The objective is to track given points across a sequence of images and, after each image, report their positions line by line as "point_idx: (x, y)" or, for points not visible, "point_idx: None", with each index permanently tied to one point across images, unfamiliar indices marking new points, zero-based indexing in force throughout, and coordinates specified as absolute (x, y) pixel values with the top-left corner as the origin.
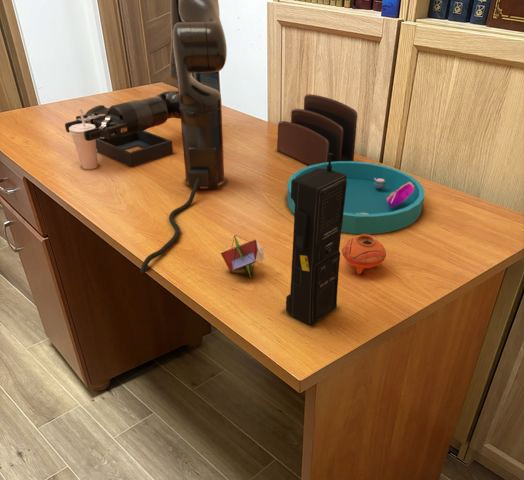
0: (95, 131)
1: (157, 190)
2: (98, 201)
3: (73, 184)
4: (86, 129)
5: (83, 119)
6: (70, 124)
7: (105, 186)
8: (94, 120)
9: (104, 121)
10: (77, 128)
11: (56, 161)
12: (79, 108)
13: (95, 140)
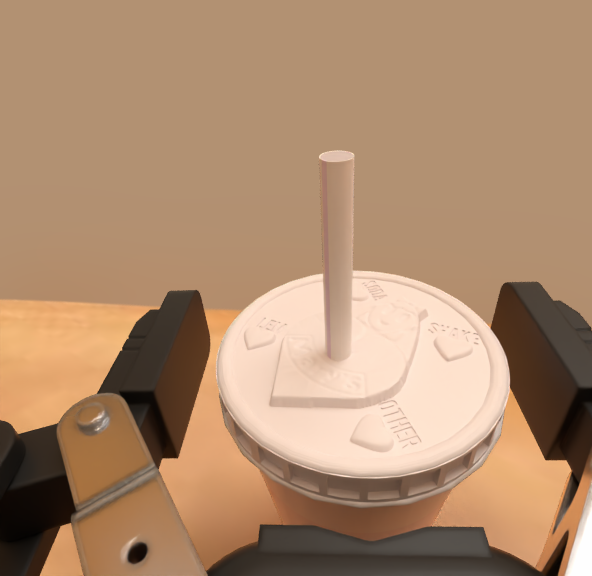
0: (131, 364)
1: None
2: (8, 356)
3: (212, 368)
4: (257, 339)
5: (325, 286)
6: (519, 315)
7: None
8: (498, 561)
9: (147, 538)
10: (357, 311)
11: None
12: (347, 152)
13: (279, 501)
